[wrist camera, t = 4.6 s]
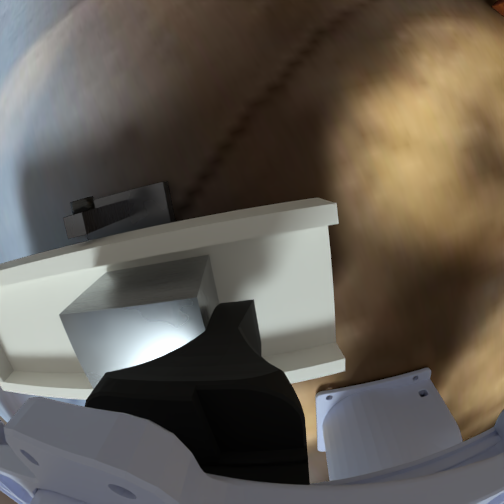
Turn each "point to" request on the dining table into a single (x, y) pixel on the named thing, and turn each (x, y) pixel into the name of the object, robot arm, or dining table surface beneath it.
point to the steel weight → (140, 314)
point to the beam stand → (120, 212)
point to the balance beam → (175, 248)
